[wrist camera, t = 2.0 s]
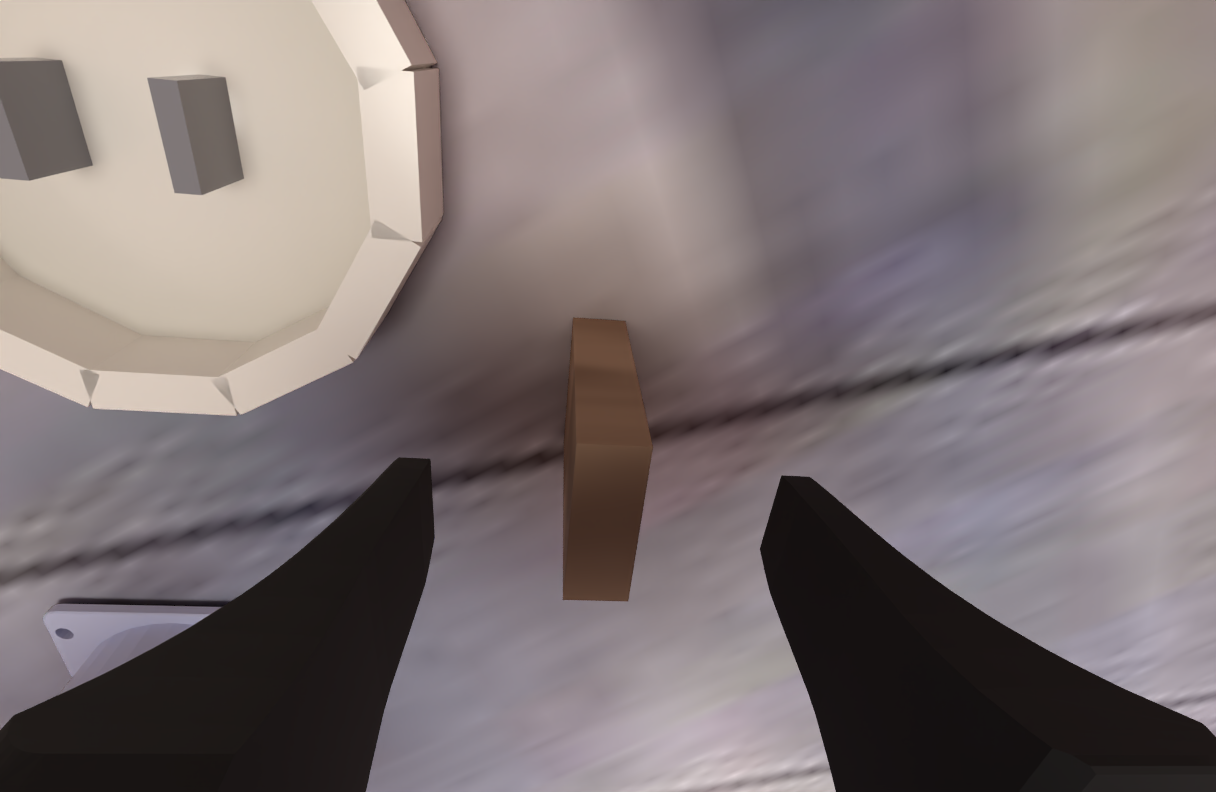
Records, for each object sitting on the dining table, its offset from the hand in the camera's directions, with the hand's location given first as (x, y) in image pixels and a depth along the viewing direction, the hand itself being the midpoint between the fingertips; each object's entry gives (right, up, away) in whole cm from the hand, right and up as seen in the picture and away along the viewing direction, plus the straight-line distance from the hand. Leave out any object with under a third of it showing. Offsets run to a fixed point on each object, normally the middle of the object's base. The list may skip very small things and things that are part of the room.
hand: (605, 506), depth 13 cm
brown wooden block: (0, +3, +5) cm, 5 cm away
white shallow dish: (-10, +8, +1) cm, 13 cm away
